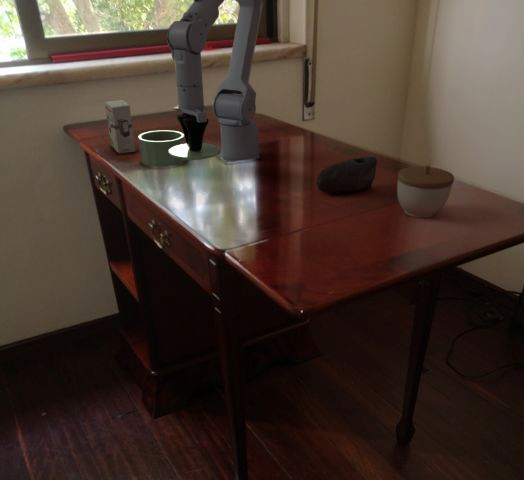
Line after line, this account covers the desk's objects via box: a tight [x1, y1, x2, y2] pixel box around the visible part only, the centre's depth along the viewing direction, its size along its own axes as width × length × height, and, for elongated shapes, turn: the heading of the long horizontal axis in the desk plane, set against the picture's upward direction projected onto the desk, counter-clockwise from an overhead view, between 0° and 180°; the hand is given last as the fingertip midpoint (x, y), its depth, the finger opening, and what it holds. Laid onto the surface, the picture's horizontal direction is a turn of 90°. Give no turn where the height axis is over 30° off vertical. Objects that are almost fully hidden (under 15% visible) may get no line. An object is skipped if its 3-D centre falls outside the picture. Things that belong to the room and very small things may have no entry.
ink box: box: [104, 99, 136, 154], centre depth 143 cm, size 9×5×12 cm, turn 27°
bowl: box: [137, 129, 187, 167], centre depth 135 cm, size 11×11×6 cm
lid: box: [169, 135, 222, 161], centre depth 124 cm, size 12×12×6 cm
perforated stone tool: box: [316, 156, 378, 194], centre depth 117 cm, size 15×5×7 cm, turn 110°
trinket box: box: [396, 164, 455, 219], centre depth 106 cm, size 11×11×9 cm
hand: (194, 148), depth 125 cm, fingers closed on lid, 2 cm apart
